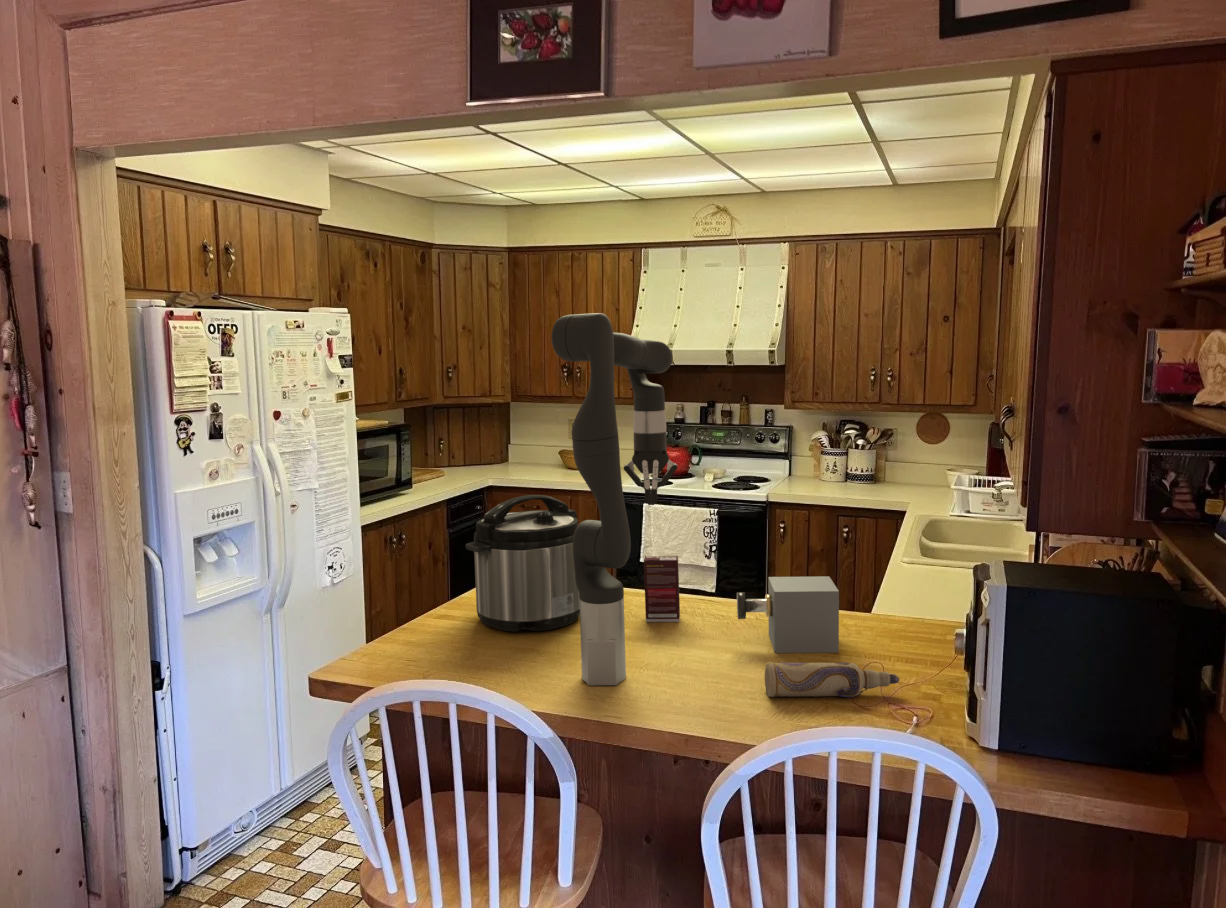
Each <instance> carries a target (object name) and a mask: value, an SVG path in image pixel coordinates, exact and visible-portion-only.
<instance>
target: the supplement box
mask: <svg viewBox="0 0 1226 908" xmlns="http://www.w3.org/2000/svg"><path fill="white" fill-rule="evenodd" d="M679 572H680V571H679V556H678V555H645V556H644V559H643V579H644V606H645V611H644V612H645V623H679V622H680V619H681V618H680V617H681V609H680V608H681V605H680V604H681V603H680V579H679V578H680V577H679V575H680V574H679Z"/></svg>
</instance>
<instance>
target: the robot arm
mask: <svg viewBox="0 0 1226 908" xmlns="http://www.w3.org/2000/svg"><path fill="white" fill-rule="evenodd" d="M551 344H552V348H553V350H554V352H555V354H556V355H557V356H558V358H560V359H562V360H563V361H567V362H575V363H576V362H578V363H580V362H589V366H590V367H589V369H590V371H589V372H590V374H589V375H590V376H589V386H588V390H587V393H586V395H585V398H584V400H583V402H582V404H581V406H580V407H579V409H578V411H577V414H576V415H575V418H574V421H573V424H572V428H571V440H572V451H573V453H572V454H573V459H574V463H575V466H576V468H577V470H578V471H579V474H580V476H581V478H582V479H583V480H584V482H585V484H586V485H587V486H588V489H590V491H591V494H592V495H593V497H594V499H595V501H596V504H597V507H598V512H599V518H600V520H594V519H586V520H583V521H581V522H580V523H578V527H577V528H576V530H575V533H574V537H573V560H574V570H575V582H576V586H577V589H578V591H579V602H580V615H579V628H580V632H579V633H580V661H581V663H580V664H581V678H582V679H581V680H582V681H584V682H585V683H586V684H587V686H617V685H619V683H622V682H623V681H625V679H626V677H627V672H626V671H627V670H626V669H627V666H626V660H627V659H626V633H625V626H626V625H625V597H624V596H625V593H624V590H625V589H624V586H623V583H622V582H621V581H620V580H618V579H617V578H616V577H614V576H613V575H611V574H610V573H609V571H608V570H607V569H606V568H609V569H621V568H622V567H624V566H625V565H626V563H627V562H628V560H629V558H630V554H631V546H632V543H631V531H630V526H629V525H630V524H629V520H628V513H627V509H626V508H627V507H626V503H625V498H624V491H623V490H624V489H623V481H622V472H621V470H622V469H621V457H620V453H621V452H620V442H619V440H620V438H619V430H618V422H617V413H616V412H617V411H616V399H615V398H616V397H615V366H616V367H620V368H624V369H627V374H628V375H629V376H628V378H629V380H630V384H631V389H632V393H633V420H632V421H633V422H632V423H633V425H632V429H633V455H632V456H631V460H630V461H629V462H628V463H626V464H624V466H623V470H624V472H626V474H627V475H628V476H629V478H631V480H632V481H633V482H634V483H635V485H636V486H637V487H639V488H641V489H642V488H643V489H644V501H645V503H646V504H647V505H648V506H655V503H658V489H659V488H661V487H664V486H665V485H666V484H667V483H668V481H669V480H670V479H671V478H672V476H673V475H674V473H675V472H676V471H677V470H678V464H677V463H674V462H673V461H672V460H671V459H670V456H669V455H668V452H667V416H666V410H665V409H666V408H665V405H666V403H665V401H666V399H665V389H664V387H663V385H661V384H658V383H653V382H651V381H649V380H648V378H647V376H646V374H662V373H666V371H668V369H670V367H671V365H672V363H673V362H672V361H673V354H672V351H671V349H670V347H669V345H668V344H667V343H665V342H663V341H659V340H652V339H642V338H640V337H639V338H638V337H637V336H633V335H630V334H627V333H623V332H614V331H613V326H612V322H611V320H610V319H609V316H607V315H606V314H605V313H601V312H596V313H595V312H593V313H577V314H576V313H575V314H573V313H572V314H567V315H563V316H561V317H559V318H558V319H557V320H556V321H555V323H554V324H553V327H552V330H551ZM635 467H636V468H637V469H638V471H639V473H641V474H642V476H643V480H642V479H641V478H640V477H639V476H638V474H637V473H636V472H635ZM665 467H666V470H667V471H666V472H665V474H664V475H663V476H662V478H661V479H660V480H659V479H658V478H659V474H660V473H662V471H663V469H664V468H665ZM650 474H652V477H651V478H652V481H650V480H651V479H650Z"/></svg>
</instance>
